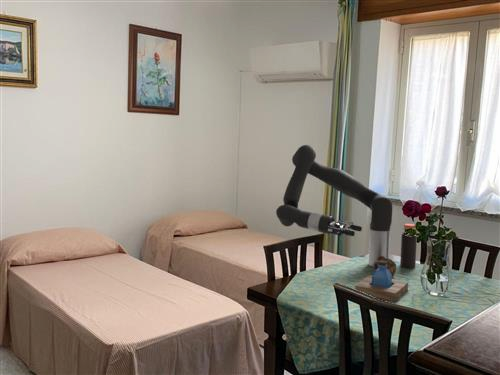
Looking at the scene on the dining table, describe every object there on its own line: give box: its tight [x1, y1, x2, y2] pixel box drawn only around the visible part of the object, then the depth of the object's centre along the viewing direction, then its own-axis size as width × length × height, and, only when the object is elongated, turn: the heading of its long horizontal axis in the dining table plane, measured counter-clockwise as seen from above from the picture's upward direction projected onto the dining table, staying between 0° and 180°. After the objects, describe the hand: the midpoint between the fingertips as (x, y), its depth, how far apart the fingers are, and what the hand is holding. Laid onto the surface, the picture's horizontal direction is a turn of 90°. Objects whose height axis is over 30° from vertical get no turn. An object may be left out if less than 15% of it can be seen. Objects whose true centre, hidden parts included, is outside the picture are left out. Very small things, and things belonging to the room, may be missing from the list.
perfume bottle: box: [371, 260, 393, 288], centre depth 195 cm, size 6×6×12 cm
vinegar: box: [400, 223, 418, 269], centre depth 232 cm, size 7×7×20 cm
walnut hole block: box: [354, 275, 409, 303], centre depth 196 cm, size 16×16×4 cm
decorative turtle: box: [373, 256, 398, 277], centre depth 217 cm, size 10×15×8 cm, turn 7°
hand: (358, 231), depth 200 cm, fingers open, 8 cm apart
